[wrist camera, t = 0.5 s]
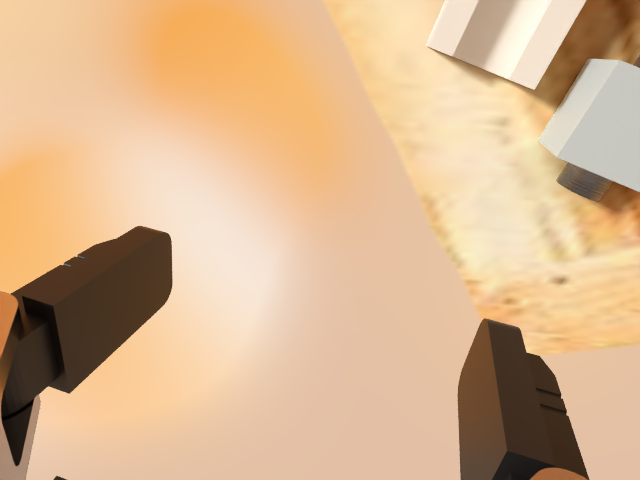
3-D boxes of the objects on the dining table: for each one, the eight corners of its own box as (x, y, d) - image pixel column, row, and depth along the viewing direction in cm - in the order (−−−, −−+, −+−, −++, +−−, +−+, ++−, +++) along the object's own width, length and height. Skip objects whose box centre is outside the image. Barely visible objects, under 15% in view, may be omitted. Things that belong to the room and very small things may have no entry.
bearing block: (588, 58, 29) (619, 60, 24) (702, 103, 28) (760, 115, 23) (537, 140, 32) (556, 157, 27) (640, 183, 31) (680, 209, 26)
